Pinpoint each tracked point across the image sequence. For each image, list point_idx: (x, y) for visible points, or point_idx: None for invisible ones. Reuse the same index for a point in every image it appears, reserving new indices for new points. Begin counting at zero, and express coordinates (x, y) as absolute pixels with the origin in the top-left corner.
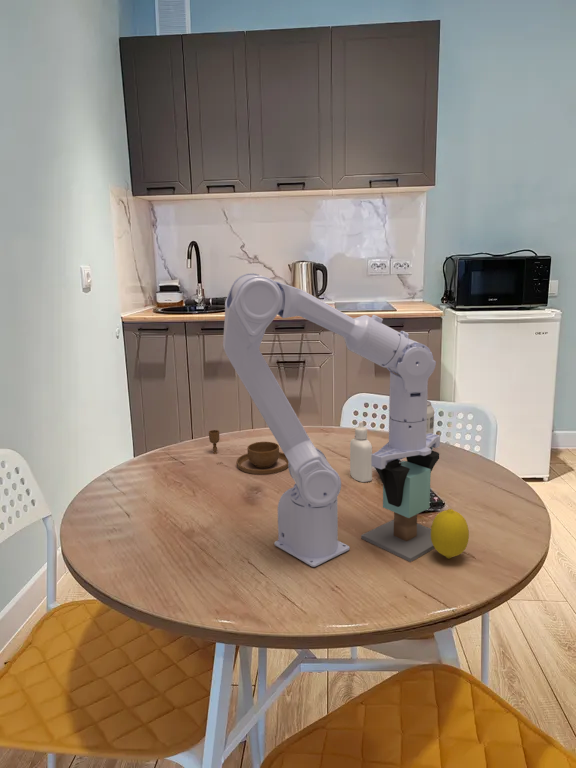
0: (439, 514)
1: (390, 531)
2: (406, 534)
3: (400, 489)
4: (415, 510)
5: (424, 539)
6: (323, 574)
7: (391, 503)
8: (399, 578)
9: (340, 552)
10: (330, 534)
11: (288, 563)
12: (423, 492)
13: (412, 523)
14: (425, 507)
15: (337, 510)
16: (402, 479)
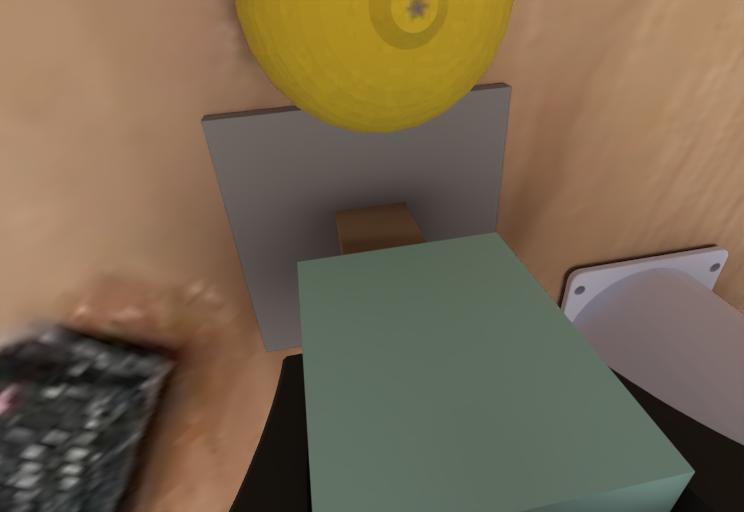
0: (458, 79)
1: None
2: (412, 218)
3: (634, 395)
4: (447, 256)
5: (330, 171)
6: (736, 204)
7: None
8: (640, 15)
9: (621, 265)
10: (712, 316)
11: (721, 296)
12: (389, 340)
13: (381, 244)
14: (341, 265)
15: (701, 400)
16: (729, 471)
